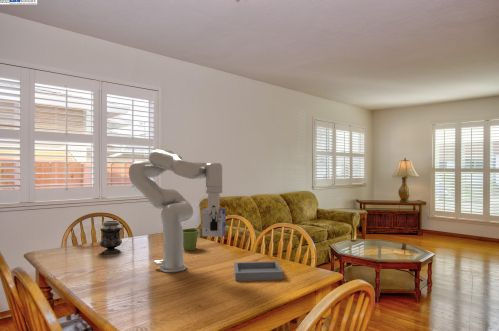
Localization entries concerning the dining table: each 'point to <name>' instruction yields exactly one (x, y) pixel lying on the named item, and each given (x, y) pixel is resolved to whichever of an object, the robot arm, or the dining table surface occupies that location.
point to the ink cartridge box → (220, 223)
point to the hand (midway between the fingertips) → (214, 228)
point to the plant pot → (190, 238)
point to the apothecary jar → (110, 236)
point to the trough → (257, 271)
